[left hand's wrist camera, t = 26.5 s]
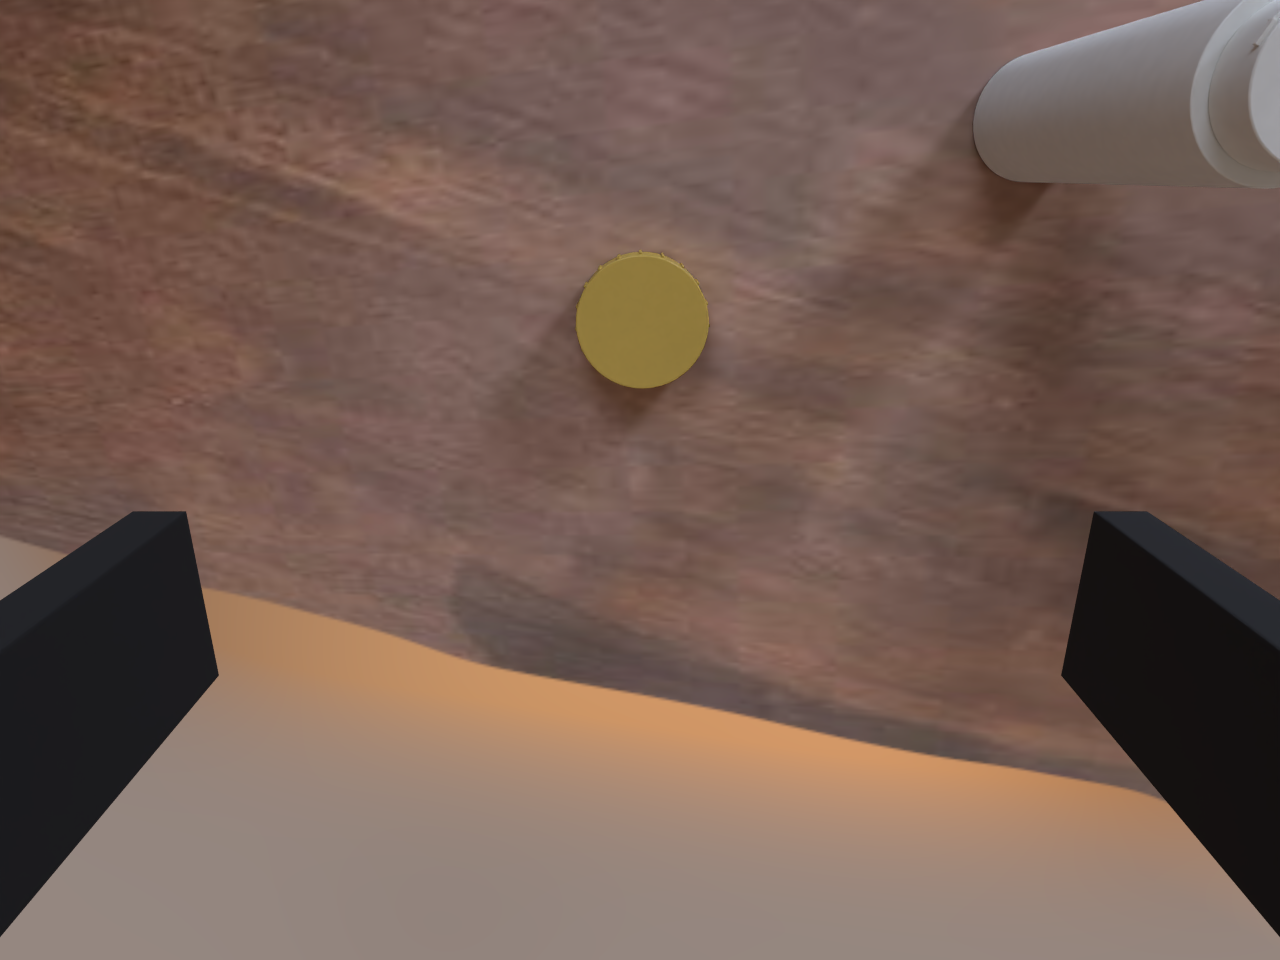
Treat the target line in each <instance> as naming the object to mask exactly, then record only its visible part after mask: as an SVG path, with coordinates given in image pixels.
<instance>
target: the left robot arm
mask: <svg viewBox="0 0 1280 960" xmlns="http://www.w3.org/2000/svg"><path fill="white" fill-rule="evenodd" d="M218 676H219V674H218V669H217V664H216V659H215V654H214V649H213V644H212V639H211V634H210V629H209V624H208V619H207V614H206V609H205V604H204V599H203V594H202V589H201V584H200V579H199V574H198V569H197V564H196V559H195V554H194V549H193V544H192V539H191V534H190V529H189V524H188V519H187V514H186V512H132V513H130V514H129V515H127V516H126V517H124V518H123V519H121V520H120V521H118V522H117V523H115V524H114V525H112V526H111V527H109V528H108V529H106V530H105V531H103V532H102V533H100V534H99V535H97V536H96V537H94V538H93V539H91V540H90V541H88V542H87V543H85V544H84V545H82V546H81V547H79V548H78V549H76V550H75V551H73V552H72V553H70V554H69V555H67V556H66V557H64V558H63V559H61V560H60V561H58V562H57V563H56V564H54V565H53V566H51V567H50V568H48V569H47V570H45V571H44V572H42V573H41V574H39V575H38V576H36V577H35V578H33V579H32V580H30V581H29V582H27V583H26V584H24V585H23V586H21V587H20V588H18V589H17V590H15V591H14V592H12V593H11V594H9V595H8V596H6V597H5V598H3V599H2V600H0V937H1V935H2V934H3V933H4V932H5V931H6V929H7V928H8V927H9V926H10V925H11V923H12V922H13V921H14V920H15V919H16V917H17V916H18V915H19V914H20V913H21V911H22V910H23V909H24V908H25V907H26V905H27V904H28V903H29V902H30V901H31V899H32V898H33V897H34V896H35V895H36V893H37V892H38V891H39V890H40V889H41V888H42V886H43V885H44V884H45V883H46V882H47V880H48V879H49V878H50V877H51V876H52V874H53V873H54V872H55V871H56V870H57V868H58V867H59V866H60V865H61V864H62V862H63V861H64V860H65V859H66V858H67V856H68V855H69V854H70V853H71V852H72V850H73V849H74V848H75V847H76V846H77V844H78V843H79V842H80V841H81V840H82V838H83V837H84V836H85V835H86V834H87V832H88V831H89V830H90V829H91V828H92V826H93V825H94V824H95V823H96V822H97V820H98V819H99V818H100V817H101V816H102V814H103V813H104V812H105V811H106V810H107V809H108V807H109V806H110V805H111V804H112V803H113V801H114V800H115V799H116V798H117V797H118V795H119V794H120V793H121V792H122V791H123V789H124V788H125V787H126V786H127V785H128V783H129V782H130V781H131V780H132V779H133V777H134V776H135V775H136V774H137V773H138V771H139V770H140V769H141V768H142V767H143V765H144V764H145V763H146V762H147V761H148V759H149V758H150V757H151V756H152V755H153V754H154V752H155V751H156V750H157V749H158V748H159V746H160V745H161V744H162V743H163V742H164V740H165V739H166V738H167V737H168V736H169V734H170V733H171V732H172V731H173V730H174V728H175V727H176V726H177V725H178V724H179V722H180V721H181V720H182V719H183V718H184V716H185V715H186V714H187V713H188V712H189V710H190V709H191V708H192V707H193V706H194V704H195V703H196V702H197V701H198V700H199V698H200V697H201V696H202V695H203V694H204V692H205V691H206V690H207V689H208V688H209V687H210V685H211V684H212V683H213V682H214V681H215V679H216V678H217V677H218ZM1061 676H1062V677H1063V678H1064V679H1065V681H1066V682H1067V683H1068V684H1069V685H1070V687H1071V688H1072V689H1073V690H1074V691H1075V692H1076V694H1077V695H1078V696H1079V697H1080V698H1081V700H1082V701H1083V702H1084V703H1085V704H1086V706H1087V707H1088V708H1089V709H1090V710H1091V712H1092V713H1093V714H1094V715H1095V716H1096V718H1097V719H1098V720H1099V721H1100V722H1101V724H1102V725H1103V726H1104V727H1105V728H1106V730H1107V731H1108V732H1109V733H1110V734H1111V736H1112V737H1113V738H1114V739H1115V740H1116V742H1117V743H1118V744H1119V745H1120V746H1121V748H1122V749H1123V750H1124V751H1125V752H1126V754H1127V755H1128V756H1129V757H1130V758H1131V759H1132V761H1133V762H1134V763H1135V764H1136V765H1137V767H1138V768H1139V769H1140V770H1141V771H1142V773H1143V774H1144V775H1145V776H1146V777H1147V779H1148V780H1149V781H1150V782H1151V783H1152V785H1153V786H1154V787H1155V788H1156V789H1157V791H1158V792H1159V793H1160V794H1161V795H1162V797H1163V798H1164V799H1165V800H1166V801H1167V803H1168V804H1169V805H1170V806H1171V807H1172V809H1173V810H1174V811H1175V812H1176V813H1177V815H1178V816H1179V817H1180V818H1181V819H1182V820H1183V822H1184V823H1185V824H1186V825H1187V826H1188V828H1189V829H1190V830H1191V831H1192V832H1193V834H1194V835H1195V836H1196V837H1197V838H1198V840H1199V841H1200V842H1201V843H1202V844H1203V846H1204V847H1205V848H1206V849H1207V850H1208V852H1209V853H1210V854H1211V855H1212V856H1213V858H1214V859H1215V860H1216V861H1217V862H1218V864H1219V865H1220V866H1221V867H1222V868H1223V869H1224V871H1225V872H1226V873H1227V874H1228V876H1229V877H1230V878H1231V879H1232V880H1233V882H1234V883H1235V884H1236V885H1237V886H1238V888H1239V889H1240V890H1241V891H1242V892H1243V893H1244V895H1245V896H1246V897H1247V898H1248V899H1249V901H1250V902H1251V903H1252V904H1253V905H1254V907H1255V908H1256V909H1257V910H1258V911H1259V913H1260V914H1261V915H1262V916H1263V917H1264V919H1265V920H1266V921H1267V922H1268V923H1269V925H1270V926H1271V927H1272V928H1273V929H1274V931H1275V932H1276V933H1277V934H1278V935H1279V937H1280V600H1278V599H1277V598H1275V597H1274V596H1272V595H1271V594H1269V593H1268V592H1266V591H1265V590H1263V589H1262V588H1260V587H1259V586H1257V585H1256V584H1254V583H1253V582H1251V581H1250V580H1248V579H1247V578H1245V577H1244V576H1242V575H1241V574H1239V573H1238V572H1236V571H1235V570H1233V569H1232V568H1230V567H1229V566H1227V565H1226V564H1225V563H1223V562H1222V561H1220V560H1219V559H1217V558H1216V557H1214V556H1213V555H1211V554H1210V553H1208V552H1207V551H1205V550H1204V549H1202V548H1201V547H1199V546H1198V545H1196V544H1195V543H1193V542H1192V541H1190V540H1189V539H1187V538H1186V537H1184V536H1183V535H1181V534H1180V533H1178V532H1177V531H1175V530H1174V529H1172V528H1171V527H1169V526H1168V525H1166V524H1165V523H1163V522H1162V521H1160V520H1159V519H1157V518H1156V517H1154V516H1153V515H1151V514H1150V513H1148V512H1094V514H1093V519H1092V524H1091V529H1090V534H1089V539H1088V544H1087V549H1086V554H1085V559H1084V564H1083V569H1082V574H1081V579H1080V584H1079V589H1078V594H1077V599H1076V604H1075V609H1074V614H1073V619H1072V624H1071V629H1070V634H1069V639H1068V644H1067V649H1066V654H1065V659H1064V664H1063V669H1062V674H1061Z"/></svg>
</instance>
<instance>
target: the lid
mask: <svg viewBox="0 0 1280 960" xmlns="http://www.w3.org/2000/svg"><path fill="white" fill-rule="evenodd" d="M698 285H699V282H698V280H697V279H694V278H693V277H692V275H691V274H690V273H689V272H688V271H687V270H686V269H685V268H684V266H683V264H682V263H680V264H679V263H677V262H676V261H674V260H673V259H670V258H668V257H666V256H664V254H663V253H661V255H660V254H657V253H651V252H642V250H639V252H633V253H628V254H624V255H620V254H618V256H617V257H616V258H614V259H612V260H610V261H609V262H607V263H606V264H604V265H603V266H601V265H600V266H599V267H598V270H597V271H596V272H595V273H594V275H593V276H592V277H591V279H590V280H589V282H586V283H585V285H584V288H585V289H584V291H583V293H582V295H581V298H580V300H579V302H578V303H577V305H576V308H577V313H576V327H575V331H577V337H578V340H579V344H580V346H581V350H582V352H583V353H584V355H585V356H586V358H587V360H588V361H589V362H590V364H591V365H592V366H593V367H594V368H595V369H596V370H597V371H598V372H599V373H600V374H602V375H603V376H604V377H606V378H607V379H609V380H611V381H612V382H615V383H617V384H619V385H622V386H626V387H631V388H641V389H645V388H654V387H658V386H662V385H665V384H668V383H670V382H672V381H674V380H676V379H677V378H679V377H680V376H682V375H683V374H684V373H685V372H687V371H688V370H689V369H690V368H691V367H692V366H693V364H694V363H695V362H696V360H697V359H698V357H699V356H700V354H701V352H702V350H703V349H704V347H705V346H704V345H705V342H706V339H707V334H708V327H710V325H709V318H708V310H707V305H708V303H707V301H706V299H704V296H703V294H702V292H701V290H700V288H699V286H698Z"/></svg>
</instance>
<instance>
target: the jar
mask: <svg viewBox="0 0 1280 960" xmlns="http://www.w3.org/2000/svg"><path fill="white" fill-rule="evenodd" d="M973 134H974V140H975V145H976V148H977V150H978V153H979V155H980V157H981V158H982V160H983V161H984V163H985V164H986V165H987V166H988V167H989V168H990V169H991V170H992V171H993V172H994V173H996V174H997V175H999V176H1001V177H1003V178H1005V179H1008V180H1011V181H1016V182H1038V183H1074V184H1109V185H1145V186H1181V187H1217V188H1253V189H1273V188H1280V0H1204V1H1200V2H1197V3H1194V4H1190V5H1187V6H1184V7H1180V8H1177V9H1174V10H1171V11H1167V12H1164V13H1161V14H1157V15H1154V16H1151V17H1147V18H1144V19H1141V20H1138V21H1134V22H1131V23H1128V24H1124V25H1121V26H1118V27H1115V28H1111V29H1108V30H1105V31H1101V32H1098V33H1095V34H1091V35H1088V36H1085V37H1082V38H1078V39H1075V40H1072V41H1068V42H1065V43H1062V44H1058V45H1055V46H1052V47H1049V48H1045V49H1042V50H1039V51H1035V52H1032V53H1029V54H1026V55H1023V56H1020V57H1018V58H1016V59H1014V60H1012V61H1010V62H1009V63H1007V64H1006V65H1005V66H1003V67H1002V68H1001V69H1000V70H999V71H998V72H997V73H995V75H994V76H993V77H992V78H991V79H990V80H989V82H988V83H987V85H986V86H985V88H984V89H983V91H982V93H981V95H980V97H979V100H978V103H977V105H976V109H975V113H974V120H973Z"/></svg>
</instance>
